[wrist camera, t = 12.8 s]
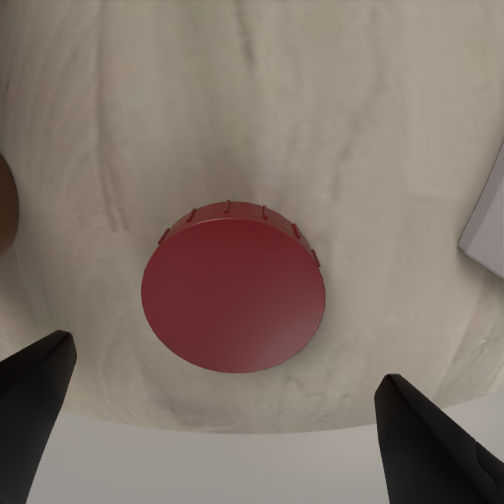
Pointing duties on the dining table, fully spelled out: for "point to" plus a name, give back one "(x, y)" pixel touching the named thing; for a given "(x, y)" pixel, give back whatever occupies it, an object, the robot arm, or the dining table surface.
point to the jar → (7, 208)
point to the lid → (233, 288)
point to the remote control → (488, 223)
